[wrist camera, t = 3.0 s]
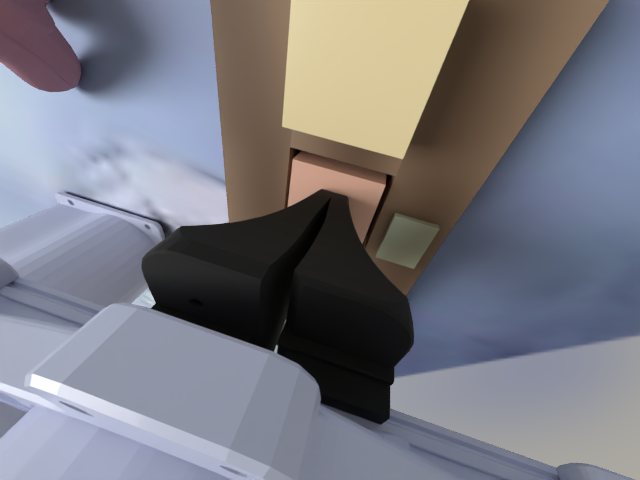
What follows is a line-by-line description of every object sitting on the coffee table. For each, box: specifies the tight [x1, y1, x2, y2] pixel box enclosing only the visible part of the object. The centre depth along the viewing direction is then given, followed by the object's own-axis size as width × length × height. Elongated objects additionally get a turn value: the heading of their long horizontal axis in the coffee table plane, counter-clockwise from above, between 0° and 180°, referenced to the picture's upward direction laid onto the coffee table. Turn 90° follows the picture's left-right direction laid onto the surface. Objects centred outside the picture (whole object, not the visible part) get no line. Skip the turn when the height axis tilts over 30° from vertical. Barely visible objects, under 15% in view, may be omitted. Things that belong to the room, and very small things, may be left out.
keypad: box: [210, 0, 609, 296], centre depth 16 cm, size 11×29×3 cm, turn 170°
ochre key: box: [282, 0, 469, 159], centre depth 7 cm, size 4×4×3 cm
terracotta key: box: [288, 151, 386, 243], centre depth 12 cm, size 4×4×3 cm
